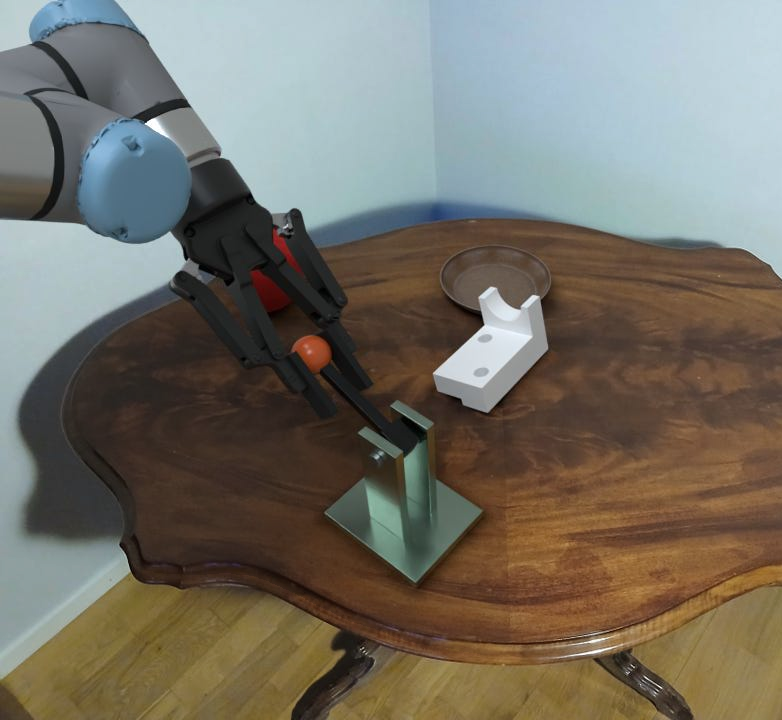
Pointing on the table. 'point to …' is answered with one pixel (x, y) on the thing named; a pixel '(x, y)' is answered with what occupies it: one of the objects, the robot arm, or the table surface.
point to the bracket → (494, 352)
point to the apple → (267, 288)
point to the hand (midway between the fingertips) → (347, 401)
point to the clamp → (403, 503)
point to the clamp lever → (352, 393)
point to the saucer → (494, 276)
